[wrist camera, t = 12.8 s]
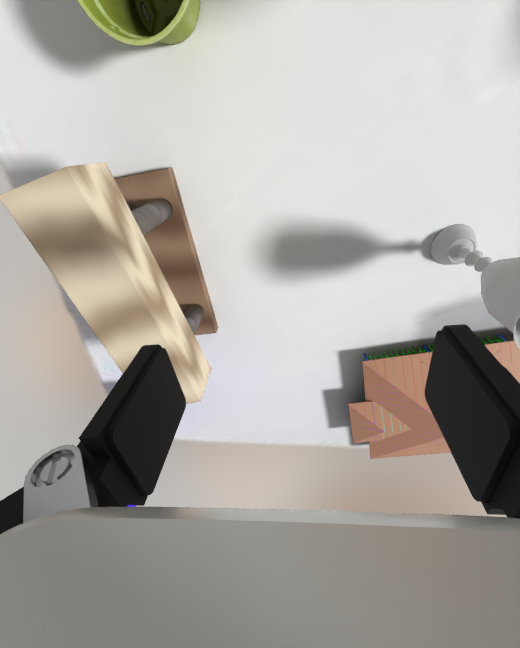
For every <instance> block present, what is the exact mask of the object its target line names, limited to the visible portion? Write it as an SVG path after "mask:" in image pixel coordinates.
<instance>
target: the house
mask: <svg viewBox="0 0 520 648" xmlns="http://www.w3.org/2000/svg"><path fill="white" fill-rule="evenodd" d="M498 336H499V337H500V338H501V339H502V340H499V339H498V340H497V339H495V338H494V337H493V336H492V337H493V338H494V339H495V340H496V341H497V342H498V343H492V342H494V341H490V340H489V339H488V338H487V337H486V336H485V337H486V338H487V339H488V340H489V341H490V342H491V344H486V343H489V342H484V341H483V340H482V339H481V338H480V337H479V338H480V339H481V340H482V341H483V342H482V343H485V344H484V345H485V346H486V348H487V349H488V350H489V351H490V352H491V353H492V354H493V356H494V357H495V358H496V359H497V360H498V361H499V362H500V364H501V365H502V366H504V367H505V368H506V369H507V370H508V371H509V372H510V373H511V374H512V375H513V376H514V378H515V379H516V380H517V381H518V382H519V383H520V349H519V348H518V346H517V344H516V342H515V340H513V341H506V340H505V339H504V338H503V337H502V336H501V335H500V334H498ZM499 341H500V342H499ZM501 341H503V342H501ZM431 345H432V344H431ZM423 346H424V348H425V349H426V350H425V349H424V351H425V353H422V351H421V350H420V348H419V347H418V348H419V350H420V351H418V352H421V353H418V354H410V353H416V352H415V350H414V349H413V350H414V352H410V353H403V351H402V350H401V351H402V354H410V355H404V356H399V355H400V354H398V353H397V352H396V353H397V355H398V356H396V357H393V356H395V355H392V354H391V355H388V356H392V357H389V358H381V359H376V358H379V357H375V356H374V357H375V360H372V359H373V358H371V356H370V358H367V357H366V354H365V353H364V355H365V358H366V359H365V358H364V359H365V361H362V365H363V377H364V388H365V400H366V402H357V403H348V406H349V414H350V421H351V429H352V437H353V443H360V442H369V446H370V457H371V459H374V458H386V457H399V456H412V455H423V454H424V455H425V454H437V453H450V452H451V451H450V449H449V447H448V445H447V443H446V441H445V439H444V436H443V434H442V432H441V430H440V428H439V426H438V424H437V422H436V420H435V418H434V416H433V414H432V412H431V410H430V408H429V406H428V404H427V401H426V399H425V386H426V381H427V376H428V371H429V366H430V362H431V357H432V352H433V349H431V348H430V349H431V350H432V352H429V351H431V350H428V349H427V347H426V346H425V345H423ZM428 346H429V345H428ZM432 346H433V345H432ZM429 347H430V346H429ZM433 347H434V346H433ZM412 348H413V347H412ZM400 349H401V348H400ZM406 349H407V348H406ZM389 351H390V350H389ZM395 351H396V350H395ZM407 351H408V349H407ZM426 351H427V352H426ZM408 352H409V351H408ZM378 353H379V351H378ZM384 353H385V352H384ZM390 353H391V352H390ZM369 355H370V354H369ZM373 355H374V353H373ZM379 355H380V354H379ZM385 355H386V354H385ZM380 357H381V356H380ZM382 357H387V356H382ZM367 359H371V360H367Z"/></svg>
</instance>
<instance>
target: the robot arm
mask: <svg viewBox="0 0 520 648" xmlns="http://www.w3.org/2000/svg"><path fill="white" fill-rule="evenodd" d="M425 399H426V401H427V404H428V406H429V408H430V410H431V412H432V414H433V416H434V418H435V420H436V422H437V424H438V426H439V428H440V430H441V432H442V434H443V436H444V439H445V441H446V443H447V445H448V447H449V449H450V451H451V453H452V455H453V457H454V459H455V461H456V463H457V465H458V467H459V469H460V471H461V474H462V476H463V478H464V480H465V482H466V484H467V486H468V488H469V490H470V492H471V494H472V496H473V498H474V499H475V500H477V501H481V502H482V504H483V506H484V508H485V510H486V512H487V514H501V515H502V514H503V515H506V516H507V518H505V517H488V516H466V515H445V514H418V513H415V514H414V513H385V512H353V511H352V512H350V511H317V510H315V511H314V510H276V509H238V508H189V507H127V506H128V505H144V504H145V501H146V499H147V496H148V495H150V494H152V492H153V490H154V488H155V486H156V483H157V480H158V478H159V475H160V472H161V470H162V467H163V465H164V462H165V459H166V457H167V454H168V452H169V449H170V446H171V444H172V441H173V439H174V436H175V433H176V431H177V428H178V426H179V423H180V420H181V418H182V415H183V413H184V410H185V407H186V399H185V396H184V393H183V391H182V388H181V386H180V383H179V381H178V378H177V376H176V373H175V371H174V368H173V366H172V363H171V361H170V358H169V355H168V353H167V351H166V349H165V348H162V347H161V346H160V345H158V344H156V345H144V346H142V347H141V348H140V350H139V351H138V353H137V354H136V356H135V357H134V359H133V360H132V362H131V363H130V364H129V366H128V367H127V369H126V370H125V372H124V373H123V375H122V376H121V378H120V379H119V380H118V382H117V383H116V385H115V386H114V388H113V389H112V391H111V392H110V394H109V395H108V396H107V398H106V399H105V401H104V402H103V404H102V406H101V407H100V408H99V410H98V411H97V413H96V414H95V416H94V417H93V418H92V420H91V421H90V423H89V424H88V426H87V427H86V429H85V430H84V431H83V433H82V434H81V436H80V437H79V439H80V440H81V441H80V443H79V444H78V446H77V447H76V446H74V445H64V446H60V447H57V448H55V449H53V450H51V451H49V452H48V453H46V454H45V455H43V456H42V457H41V458H40V459H39V460H37V461H36V462H35V464H34V465H33V466H32V467H31V468H30V470H29V471H28V473H27V475H26V477H25V482H24V487H22V488H21V489H19V490H18V491H16V492H14V493H13V494H11V495H9V496H8V497H6V498H5V499H3V500H1V501H0V648H520V383H519V382H518V381H517V380H516V379H515V378H514V376H513V375H512V374H511V373H510V372H509V371H508V370H507V369H506V368H505V367H504V366H502V365H501V364H500V362H499V361H498V360H497V359H496V358H495V357H494V356H493V354H492V353H491V352H490V351H489V350H488V349H487V348H486V346H485V345H484V344H483V343H482V342H481V341H480V340H479V338H478V337H477V336H476V335H475V334H474V333H473V332H472V330H471V329H470V328H469V327H468V326H467V325H449V326H444V327H443V329H442V330H441V331H438V332H437V334H436V338H435V343H434V347H433V352H432V357H431V362H430V366H429V371H428V376H427V381H426V386H425Z"/></svg>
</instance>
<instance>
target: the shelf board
mask: <svg viewBox="0 0 520 648" xmlns="http://www.w3.org/2000/svg"><path fill="white" fill-rule="evenodd" d="M0 200H1V201H2V203H3V204H4V205H5V207H6V208H7V210H8V211H9V212H10V214H11V215H12V216H13V218H14V219H15V221H16V222H17V224H18V225H19V226H20V228H21V229H22V231H23V232H24V234H25V235H26V237H27V238H28V239H29V241H30V242H31V243H32V245H33V246H34V248H35V249H36V251H37V252H38V253H39V255H40V256H41V258H42V259H43V261H44V262H45V264H46V265H47V266H48V268H49V269H50V271H51V272H52V273H53V275H54V276H55V278H56V279H57V281H58V282H59V283H60V285H61V286H62V288H63V289H64V290H65V292H66V293H67V295H68V296H69V298H70V299H71V300H72V302H73V303H74V305H75V306H76V307H77V309H78V310H79V312H80V313H81V315H82V316H83V317H84V319H85V320H86V322H87V323H88V325H89V326H90V327H91V329H92V330H93V332H94V333H95V334H96V336H97V337H98V339H99V340H100V342H101V343H102V344H103V346H104V347H105V349H106V350H107V351H108V353H109V354H110V356H111V357H112V359H113V360H114V361H115V363H116V364H117V366H118V367H119V368H120V370H121V371H122V373H124V372H125V370H126V369H127V367H128V366H129V364H130V363H131V362H132V360H133V359H134V357H135V356H136V354H137V353H138V351H139V350H140V348H141V347H142V346H144V345H156V344H158V345H160V346H161V347H162V348H165V349H166V351H167V353H168V355H169V358H170V361H171V363H172V366H173V368H174V371H175V373H176V376H177V378H178V381H179V383H180V386H181V388H182V391H183V393H184V396H185V399H186V404H189V403H194V402H200V401H201V399H202V396H203V393H204V390H205V387H206V383H207V380H208V377H209V374H210V371H211V367H210V365H209V363H208V361H207V360H206V358H205V356H204V354H203V352H202V350H201V348H200V346H199V344H198V342H197V340H196V338H195V336H194V334H193V332H192V330H191V328H190V326H189V324H188V322H187V320H186V318H185V316H184V314H183V313H182V311H181V309H180V307H179V305H178V303H177V301H176V299H175V297H174V295H173V293H172V291H171V289H170V287H169V285H168V283H167V281H166V279H165V277H164V275H163V273H162V271H161V269H160V267H159V265H158V264H157V262H156V260H155V258H154V256H153V254H152V252H151V250H150V248H149V246H148V244H147V242H146V240H145V238H144V236H143V234H142V232H141V230H140V228H139V226H138V224H137V222H136V220H135V218H134V216H133V215H132V213H131V211H130V209H129V207H128V205H127V203H126V201H125V199H124V197H123V195H122V193H121V191H120V189H119V187H118V185H117V183H116V181H115V179H114V177H113V175H112V173H111V171H110V169H109V167H108V166H107V164H106V162H102V163H94V164H85V165H77V166H69V167H65V168H62V169H60V170H58V171H55V172H53V173H50V174H48V175H46V176H43V177H41V178H39V179H36V180H34V181H31V182H29V183H27V184H24V185H22V186H20V187H17V188H15V189H13V190H10V191H8V192H5V193H3V194H1V195H0Z"/></svg>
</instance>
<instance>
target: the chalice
mask: <svg viewBox="0 0 520 648" xmlns="http://www.w3.org/2000/svg"><path fill="white" fill-rule="evenodd" d="M476 248H477V241H476V238H475V234H474V231H473V230H472V229H471V228H470V227H469V226H466V225H463V224H455V225H452V226H449V227H447V228H445V229H443V230H442V231H441V232H440V233H439V234H438V235H437V236H436V237H435V238H434V240H433V242H432V244H431V248H430V251H431V256H432V258H433V260H435V261H436V262H437V263H439V264H443V265H453V264H461V263H464V262H465V264H466V265H468V266H474V265H475V270H476V271H479V272H482V271H483V272H482V274H481V294H482V297H483V300H484V303H485V306H486V308H487V310H488V312H489V313H490V314H491V315H492V316H493V317H494V318H495V319H497V320H498V321H499V322H500V323H501V324H503V325H504V326H505V327H506V328H507V329H508V330H510V331H511V332H512V333H513V337H514V340H515V342H516V344H517V346H518V348H519V349H520V257H518V258H510V259H503V260H498V261H495V262H493V263H492V259H491V258H489V257H484V258H483V254H482V252H481V251H476Z"/></svg>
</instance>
